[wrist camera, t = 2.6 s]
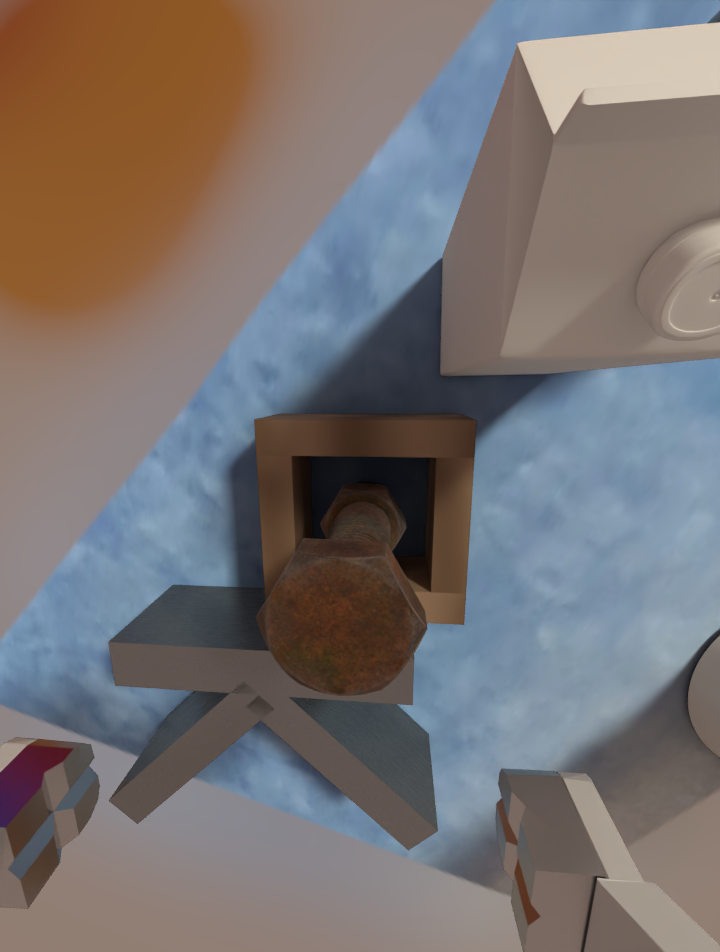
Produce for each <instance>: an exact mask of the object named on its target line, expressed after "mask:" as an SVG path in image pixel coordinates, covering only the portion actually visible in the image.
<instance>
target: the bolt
mask: <svg viewBox="0 0 720 952" xmlns="http://www.w3.org/2000/svg"><path fill="white" fill-rule="evenodd" d="M320 526H321V528H322V530H323V533H324V535H325V537H326V539H311V538H303V540H302V541H301V543H300V545H299V546H298V548H297V550H296V551H295V553H294V554H293V556H292V558H291V559H290V561H289V563H288V564H287V566H286V568H285V569H284V571H283V573H282V574H281V576H280V577H279V579H278V581H277V582H276V584H275V586H274V587H273V589H272V591H271V592H270V594H269V596H268V597H267V599H266V600H265V602H264V604H263V605H262V607H261V609H260V610H259V612H258V614H257V616H256V620H257V622H258V625H259V628H260V631H261V634H262V636H263V638H264V640H265V643H266V645H267V647H268V649H269V651H270V652H271V654H272V656H273V657H274V659H275V660H276V662H277V663H278V665H279V666H280V667H281V668H282V670H283V671H284V672H285V673H286V674H287V675H288V676H289V677H291V678H292V679H293V680H294V681H296V682H297V683H298V684H300V685H302V686H305V687H307V688H309V689H312V690H314V691H317V692H321V693H324V694H329V695H337V696H354V695H363V694H368V693H372V692H377V691H381V690H382V689H384V688H385V687H386V686H388V685H389V684H390V683H391V682H392V681H393V680H394V679H395V678H396V677H397V676H398V675H399V673H400V672H401V671H402V670H403V669H404V667H405V666H406V665H407V663H408V662H409V661H410V659H411V657H412V656H413V654H414V653H415V651H416V649H417V648H418V646H419V644H420V642H421V640H422V638H423V636H424V634H425V632H426V630H427V622H426V614H425V610H424V608H423V606H422V604H421V602H420V601H419V599H418V597H417V595H416V594H415V592H414V590H413V588H412V587H411V585H410V583H409V581H408V579H407V578H406V576H405V574H404V572H403V571H402V569H401V567H400V565H399V563H398V562H397V560H396V558H395V556H394V555H393V553H392V551H393V550H394V548H395V547H396V545H397V543H398V542H399V540H400V539H401V537H402V535H403V534H404V532H405V530H406V528H407V527H406V520H405V518H404V516H403V514H402V512H401V510H400V508H399V506H398V504H397V503H396V501H395V499H394V497H393V496H392V494H391V492H390V491H389V489H388V488H387V486H386V485H379V484H376V483H372V482H363V481H362V482H358V483H352V484H344V485H343V486H342V488H341V489H340V491H339V493H338V494H337V496H336V497H335V499H334V501H333V502H332V504H331V506H330V507H329V509H328V511H327V512H326V514H325V516H324V517H323V519H322V521H321V523H320Z"/></svg>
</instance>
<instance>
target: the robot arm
mask: <svg viewBox="0 0 720 952" xmlns="http://www.w3.org/2000/svg"><path fill="white" fill-rule="evenodd" d="M688 709H689V715H690V719H691V722H692V724H693V727H694V729H695V731H696V733H697V734H698V736H699V738H700V739H701V740H702V742H703V743H704V744H705V745H706V746H707V747H708V748H709V749H710V750H711V751H712V752H713V753H714V754H716V755H717V756H718V757H720V636H719V637H718V638H717V639H716V640H715V641H714V642H713V643H712V644H711V645H710V646H709V648H708V649H707V650H706V651H705V653H704V654H703V656H702V657H701V659H700V660H699V662H698V664H697V666H696V668H695V670H694V673H693V675H692V678H691V682H690V686H689V692H688ZM93 759H94V754H93V751H92V747H91V744H85V743H76V742H64V741H55V740H44V739H31V738H19V737H16V738H14V739H12V740H10V741H8V742H5V743H4V744H3V745H2V746H1V747H0V907H2V908H21V909H28V908H29V907H30V905H31V904H32V902H33V901H34V900H35V898H36V897H37V895H38V894H39V892H40V891H41V889H42V888H43V887H44V885H45V884H46V882H47V881H48V879H49V878H50V876H51V875H52V873H53V872H54V871H55V869H56V868H57V866H58V865H59V863H60V858H61V850H62V847H64V846H65V845H66V844H68V843H69V842H70V841H72V840H73V839H74V838H76V837H77V836H78V835H79V834H80V832H81V831H82V830H83V828H84V827H85V825H86V824H87V822H88V821H89V819H90V818H91V815H92V813H93V810H94V808H95V805H96V803H97V800H98V795H99V787H100V785H99V779H98V775H97V774H96V773H95V772H94V771H93V770H92V769H91V768H90V767H89V765H90V763H91V762H92V760H93ZM498 785H499V788H500V792H501V796H502V798H501V799H500V800H499V801H498V802H497V804H496V829H497V839H498V845H499V851H500V856H501V860H502V865H503V869H504V870H505V872H506V873H507V874H508V876H509V877H510V878H511V879H512V881H513V889H512V899H511V903H512V907H513V911H514V915H515V920H516V924H517V927H518V932H519V936H520V940H521V945H522V948H523V952H720V945H719V944H717V942H715V941H714V940H713V939H712V938H711V937H710V936H709V935H708V934H707V933H706V932H705V931H704V930H703V929H702V928H701V927H700V926H699V925H698V924H697V923H696V922H695V921H694V920H692V919H691V918H690V917H689V916H688V915H687V914H686V913H685V912H684V911H683V910H682V909H681V908H680V907H679V906H678V905H677V904H676V903H675V902H674V901H673V900H672V899H671V898H669V897H668V896H667V895H666V894H665V893H664V892H663V891H662V890H661V889H660V888H659V887H658V886H657V885H656V884H654V883H652V882H645V881H643V879H642V877H641V875H640V873H639V871H638V869H637V867H636V865H635V863H634V861H633V859H632V857H631V855H630V854H629V852H628V850H627V848H626V846H625V844H624V842H623V840H622V838H621V836H620V834H619V832H618V830H617V828H616V826H615V824H614V823H613V821H612V819H611V817H610V815H609V813H608V811H607V809H606V807H605V805H604V803H603V801H602V799H601V797H600V795H599V794H598V792H597V790H596V788H595V786H594V784H593V782H592V780H591V779H590V778H589V777H588V776H587V775H586V774H585V773H569V772H555V771H543V770H522V769H501V771H500V774H499V783H498Z"/></svg>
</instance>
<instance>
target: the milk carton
mask: <svg viewBox="0 0 720 952" xmlns="http://www.w3.org/2000/svg"><path fill="white" fill-rule="evenodd" d="M714 358H720V22H719V23H708V24H698V25H688V26H677V27H667V28H657V29H646V30H636V31H625V32H615V33H605V34H594V35H584V36H574V37H563V38H553V39H544V40H534V41H526V42H520V43H517V46H516V50H515V53H514V56H513V59H512V61H511V64H510V67H509V70H508V73H507V76H506V78H505V81H504V84H503V87H502V90H501V92H500V95H499V98H498V101H497V104H496V106H495V109H494V112H493V115H492V118H491V121H490V123H489V126H488V129H487V132H486V135H485V137H484V140H483V143H482V146H481V149H480V152H479V154H478V157H477V160H476V163H475V166H474V168H473V171H472V174H471V177H470V180H469V182H468V185H467V188H466V191H465V194H464V197H463V199H462V202H461V205H460V208H459V211H458V213H457V216H456V219H455V222H454V225H453V227H452V230H451V233H450V236H449V239H448V242H447V244H446V247H445V250H444V253H443V271H442V314H441V357H440V375H441V376H479V375H522V374H553V373H564V372H575V371H585V370H596V369H607V368H617V367H628V366H639V365H650V364H660V363H671V362H682V361H693V360H703V359H714Z"/></svg>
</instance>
